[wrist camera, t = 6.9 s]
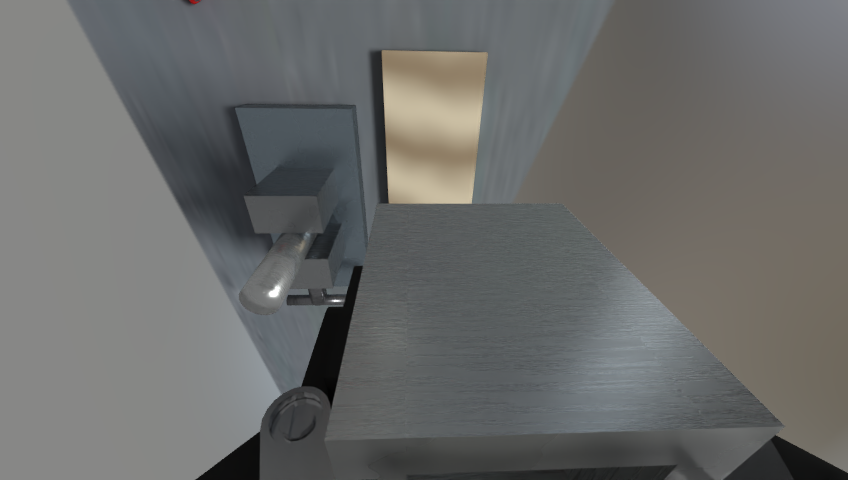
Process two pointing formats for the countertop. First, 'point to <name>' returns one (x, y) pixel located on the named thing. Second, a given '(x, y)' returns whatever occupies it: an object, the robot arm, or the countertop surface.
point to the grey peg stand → (304, 202)
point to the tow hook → (194, 1)
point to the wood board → (432, 124)
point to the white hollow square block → (524, 360)
